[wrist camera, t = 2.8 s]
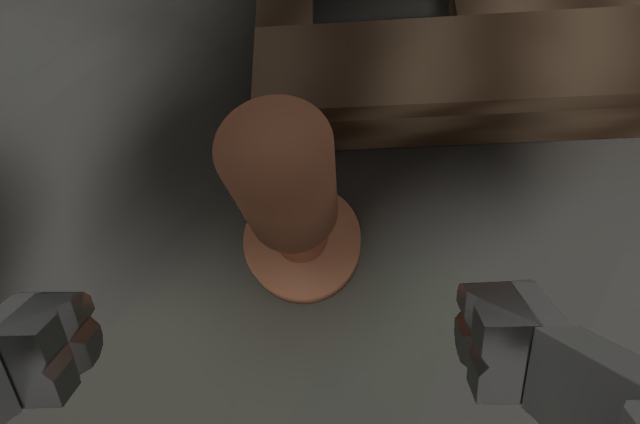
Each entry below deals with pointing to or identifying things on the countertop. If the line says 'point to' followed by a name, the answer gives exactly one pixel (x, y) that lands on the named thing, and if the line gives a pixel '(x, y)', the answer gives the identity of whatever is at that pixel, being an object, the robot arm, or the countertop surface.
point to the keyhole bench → (459, 72)
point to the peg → (288, 197)
